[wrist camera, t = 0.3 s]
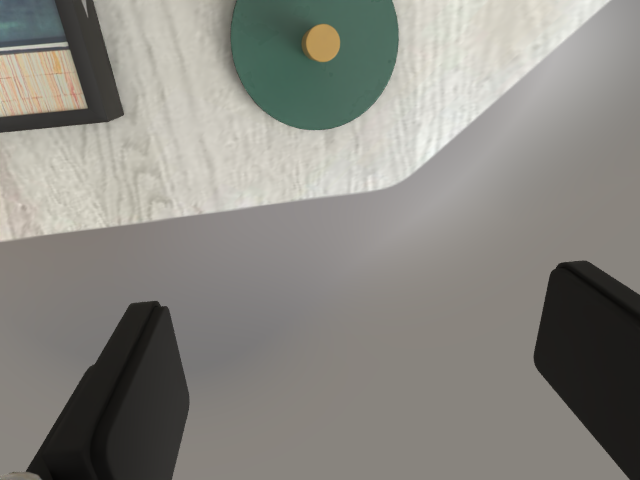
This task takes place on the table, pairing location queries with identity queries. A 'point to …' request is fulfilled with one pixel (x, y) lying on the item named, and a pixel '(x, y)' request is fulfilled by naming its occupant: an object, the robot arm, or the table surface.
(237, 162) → the table surface
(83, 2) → the dagger
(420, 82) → the table surface
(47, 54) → the framed painting
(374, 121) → the table surface
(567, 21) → the table surface
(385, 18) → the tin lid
